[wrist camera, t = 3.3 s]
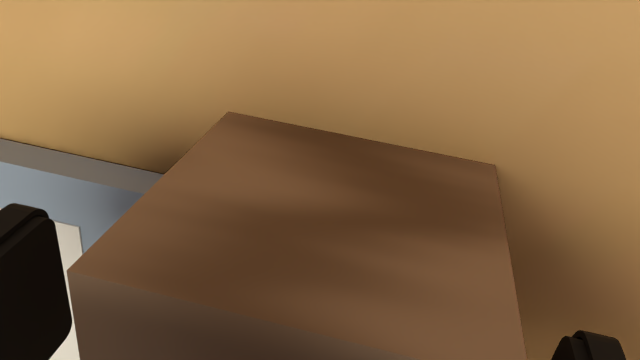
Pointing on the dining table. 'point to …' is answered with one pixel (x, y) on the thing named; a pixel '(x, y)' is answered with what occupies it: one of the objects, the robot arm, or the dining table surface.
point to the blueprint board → (70, 200)
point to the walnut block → (303, 256)
